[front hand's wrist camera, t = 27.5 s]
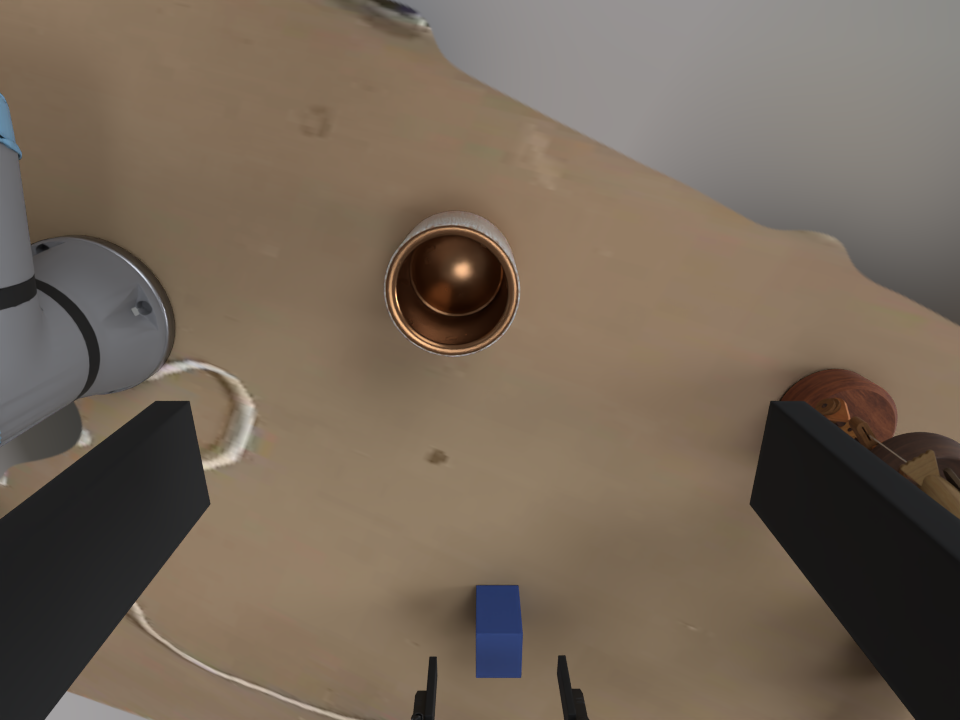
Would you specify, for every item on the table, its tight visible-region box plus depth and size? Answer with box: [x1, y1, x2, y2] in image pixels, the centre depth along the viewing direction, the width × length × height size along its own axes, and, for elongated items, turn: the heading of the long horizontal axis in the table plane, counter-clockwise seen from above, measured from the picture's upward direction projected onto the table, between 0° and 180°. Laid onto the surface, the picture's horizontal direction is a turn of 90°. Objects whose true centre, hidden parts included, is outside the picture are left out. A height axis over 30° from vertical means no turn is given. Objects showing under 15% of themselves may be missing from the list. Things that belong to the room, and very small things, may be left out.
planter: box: [384, 211, 520, 357], centre depth 47 cm, size 11×11×10 cm
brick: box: [476, 585, 523, 678], centre depth 63 cm, size 5×6×7 cm
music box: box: [781, 369, 960, 519], centre depth 48 cm, size 15×11×20 cm
